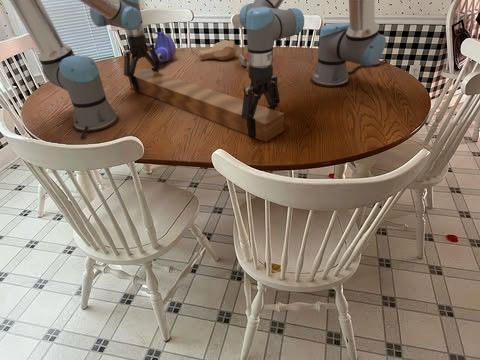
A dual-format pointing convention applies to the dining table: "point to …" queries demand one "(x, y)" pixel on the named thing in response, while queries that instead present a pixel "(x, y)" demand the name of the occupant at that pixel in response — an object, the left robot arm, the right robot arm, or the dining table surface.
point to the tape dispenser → (244, 60)
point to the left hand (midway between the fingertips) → (146, 86)
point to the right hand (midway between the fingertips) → (261, 130)
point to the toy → (164, 47)
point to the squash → (220, 51)
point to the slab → (208, 103)
